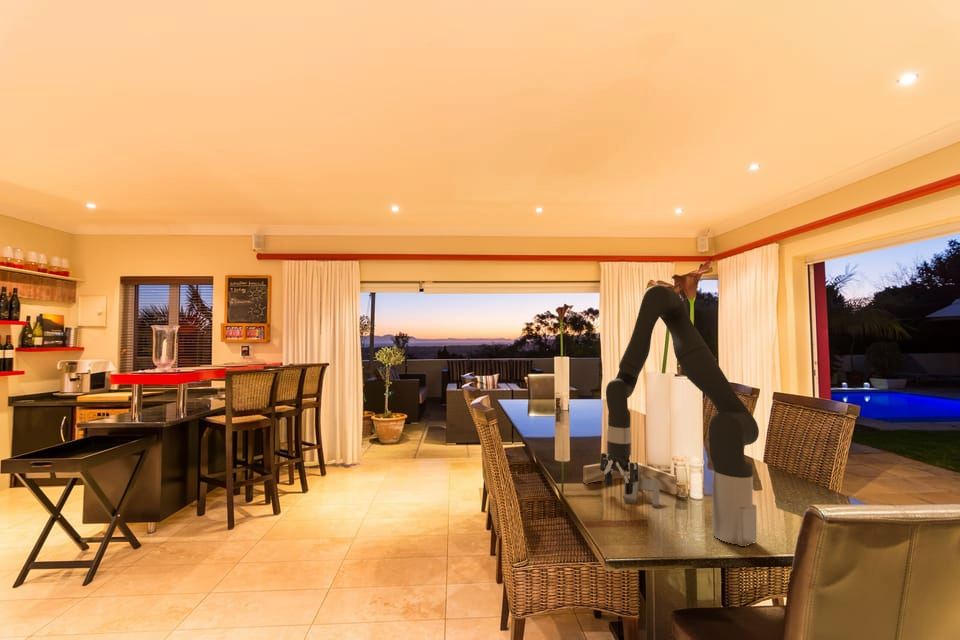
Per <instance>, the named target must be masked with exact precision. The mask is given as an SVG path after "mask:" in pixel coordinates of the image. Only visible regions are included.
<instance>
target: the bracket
mask: <svg viewBox="0 0 960 640" xmlns="http://www.w3.org/2000/svg"><path fill="white" fill-rule="evenodd" d="M628 478H629V477H628ZM638 480H639V481H638V482H633V492H632V494H629V495H627V494H625V486H624V487H623V488H624V489H623V495H622V498H623V501H624V503H626V504H627V503H629V504H633V505H636V504H637V503H636V501H638V495H639V491H640V490H641V491H646V492H652V500H651V503H652V504H651V507H653V508H657V509H658V508H659V502H660V484H659V482H658V481H656V480H654V479H652V480H650V479H643V478H641V472H640V468H639V467H638ZM624 482H625V483H626V481H625V480H624ZM625 483H624V484H625Z"/></svg>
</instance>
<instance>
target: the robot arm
mask: <svg viewBox="0 0 960 640" xmlns="http://www.w3.org/2000/svg"><path fill="white" fill-rule="evenodd" d="M642 297H643V298H642V300H641V303H640V307H639V311H638V314H637V317H636V320H635V324H634V328H633V331H632V334H631V337H630V340H629V342H628V344H627V347H626V348H625V351H624V353H623V355H622V356H621V357H622V358H621V359H620V361H619V364H618V368H619V369H618V372H617V375H616V377H615V379H612V380H610V381H609V382H608V383H607V386H606V387H605V398H606V399H605V400H606V406H607V407H606V408H607V410H608V415H607V432H606V433H607V434H606V452H602V453H601V454H600V462H599V464H600V470H601V471H603V472H604V474H605V481H604V483H605V486H607V487H611V486H613V480H612V474H611V473H612V472H613V470H614V471H618V472H620V473H621V475H622V476H623V478H624V482H625V481H626V483H624V487H625V494H627V495H629V494H632V492H633V482H638V481H639V480H638V463H639V462H637V461H634V462H635V463H633V462H630V460H631V459H630V457H631V455H632V431H631V423H632V422H631V411H630V410H629V408H628V407H629V405H628V399H629V398H630V397H631V396H632V394H633V393H634V391H635V388H636V385H637V382H638V380H639V376H640V374H641V371H642V370H643V368H644V366H645V364H646V363H647V360H648V357H649V353H650V352H651V351H650V350H651V344H652V335H653V331H654V329H655V326H656V323H657V322H658V320H659V318H660V319H661V321H662V322H663V323H664V325H665V327H666V329H667V330H668V333H670V336H671V340H672V347H673V352H674V355H675V359H676V361H677V362H678V364H679V366H680V368H681V369H682V372H683V374H684V375H685V376H686V378H687V379H688V380H689V381H690V383H692V384H693V385H694V386H695V387H696V388H697V389H699V391H700V392H702V393H703V395H705V396H706V397H707V398H708V399H709V400H710V402H711V403H712V405H713V406H714V408H715V410H716V412H717V413H715V414H714V415H713V416H712V417H711V418H710V419H709V422H708V423H709V424H708V450H709V452H708V453H709V460H711V463H712V523H711V526H712V536H713V537H714V536H715V538H716V539H717V538H718V539H717V540H719V539H720V540H719V541H721V540H722V541H721V542H723V541H725V542H724V543H726V542H728V543H727V544H729V543H733V544H738V545H740V546H745V545H747V544H750V543H753V542H755V541H756V542H757V505H755V504H754V503H753V501H754V500H753V499H754V498H753V497H754V494H753V493H754V491H753V489H754V481H753V479H754V478H753V477H754V468H753V464H752V463H751V462H749V461H748V460H746V458H745V446H748V445H752V444H754V443H755V442H756V441H757V440H758V438H759V436H760V430H759V426H758V423H757V421H756V419H755V417H754V416H753V414H752V413H751V412H750V411H749V409H748V408H747V406H746V405H745V404H744V402H743V401H742V399H740V397H739V395H738V394H737V393H736V391H735V390H734V389H733V387H732V385H731V383H730V382H729V380H728V378H727V377H726V375H725V374H724V372H723V370H722V369H721V367H720V365H719V363H718V362H717V360H716V358H715V356H714V355H713V353H712V351H711V349H710V348H709V346H708V345H707V343H706V342H705V340H704V338H703V337H702V335H701V334H700V332H699V331H698V329H697V328H696V326H695V325H694V323H693V322H692V320H691V317H690V316H689V313H688V311H687V309H686V306H685V303H684V302H683V300H682V298H681V296H680V294H679V293H678V292H677V291H675V290H673V289H671V288H669V287H666V286H664V285H658V284H656V285H653V286H652V285H651V287H649V288H648V289H646V291H645V293H644V294H643V296H642ZM608 462H609V464H608ZM604 464H605V466H604ZM626 470H627V472H625V471H626ZM628 477H629V478H628ZM733 544H732V545H733ZM738 545H737V546H738ZM740 546H739V547H740ZM745 547H746V546H745Z"/></svg>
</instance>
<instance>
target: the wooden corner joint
mask: <svg viewBox="0 0 960 640" xmlns="http://www.w3.org/2000/svg"><path fill="white" fill-rule="evenodd" d="M629 460H630V462H633V463H635V462H636V461H633V460H631V459H629ZM637 463H638V467H639V468H640V472H641V478H643V479H650V480H652V479H654V480H656V481H658V482H659V484H660V489H659V491H663V492H666V493H668V494H671V495H676V494H677V475H674V474H673V473H669V472H666V471H663V470H661V469H657V468H654V467H651V466H649V465H646V464H644V463H641V462H637ZM608 464H609V461H608ZM604 466H605V464H604ZM582 468H583V469H582V470H583V471H582V473H583V474H582V476H583V477H582V483H583V482H584V483H591V482H596V481H602V482H604V481H603V480H605V474H604V472H603V471H601V470H600V463H594V464H589V465H583V467H582ZM625 472H627V470H626V471H625ZM611 474H612V479H613V480H615V479H614V478H618V479H622V478H624V477H623V476H622V475H621V473H620V472H618V471H614V470H613V472H612V473H611ZM584 483H583V484H584ZM591 484H592V483H591Z"/></svg>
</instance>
